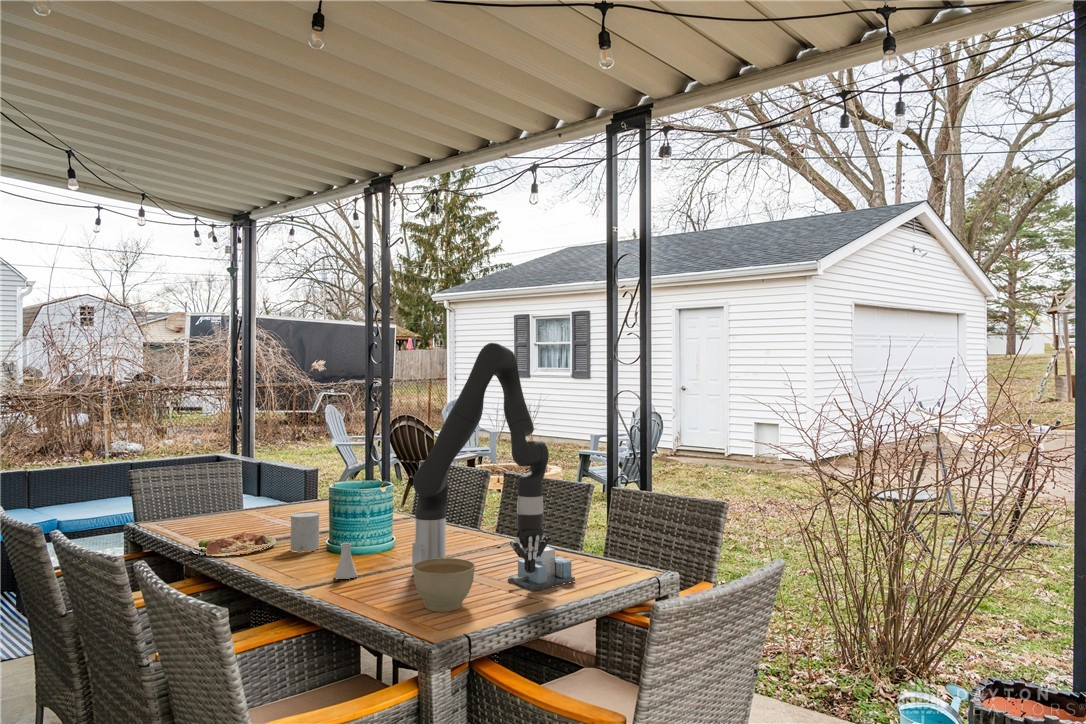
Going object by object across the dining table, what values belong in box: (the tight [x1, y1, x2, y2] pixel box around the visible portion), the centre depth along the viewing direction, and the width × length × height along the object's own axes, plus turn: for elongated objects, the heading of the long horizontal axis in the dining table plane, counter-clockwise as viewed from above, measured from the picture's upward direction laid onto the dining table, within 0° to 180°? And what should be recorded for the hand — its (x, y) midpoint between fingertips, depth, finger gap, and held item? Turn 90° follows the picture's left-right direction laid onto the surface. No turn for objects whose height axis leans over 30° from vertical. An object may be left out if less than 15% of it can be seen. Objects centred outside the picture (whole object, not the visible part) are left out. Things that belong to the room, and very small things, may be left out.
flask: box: [333, 542, 358, 580], centre depth 216 cm, size 7×7×10 cm
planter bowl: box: [413, 557, 476, 613], centre depth 189 cm, size 16×16×11 cm
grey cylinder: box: [290, 511, 320, 552], centre depth 251 cm, size 10×10×12 cm
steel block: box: [535, 546, 556, 578], centre depth 212 cm, size 5×4×8 cm
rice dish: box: [190, 531, 277, 554], centre depth 253 cm, size 28×28×5 cm
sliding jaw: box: [507, 558, 547, 585], centre depth 208 cm, size 10×10×5 cm
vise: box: [509, 555, 576, 592], centre depth 212 cm, size 15×12×6 cm
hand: (529, 572), depth 205 cm, fingers closed
